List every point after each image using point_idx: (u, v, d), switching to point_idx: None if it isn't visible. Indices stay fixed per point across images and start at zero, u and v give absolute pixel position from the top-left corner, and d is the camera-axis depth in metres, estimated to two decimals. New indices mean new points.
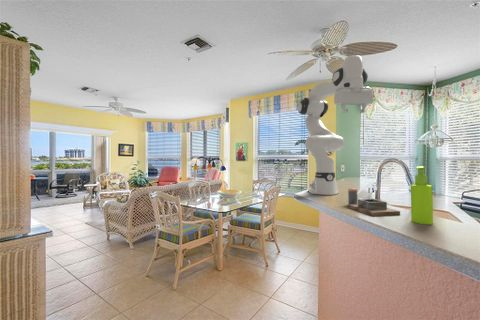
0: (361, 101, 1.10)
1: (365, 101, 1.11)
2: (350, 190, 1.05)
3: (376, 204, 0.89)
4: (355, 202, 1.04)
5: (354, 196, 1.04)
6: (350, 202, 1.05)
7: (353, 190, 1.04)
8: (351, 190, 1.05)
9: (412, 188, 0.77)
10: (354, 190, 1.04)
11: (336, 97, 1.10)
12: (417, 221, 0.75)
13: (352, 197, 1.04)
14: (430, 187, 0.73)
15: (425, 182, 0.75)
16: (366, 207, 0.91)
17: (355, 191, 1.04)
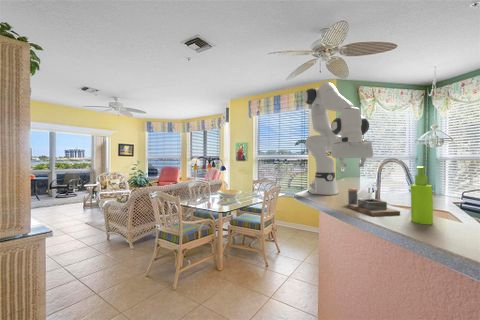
0: (360, 155, 1.05)
1: (364, 155, 1.05)
2: (350, 190, 1.05)
3: (376, 204, 0.89)
4: (355, 202, 1.04)
5: (354, 196, 1.04)
6: (350, 202, 1.05)
7: (353, 190, 1.04)
8: (351, 190, 1.05)
9: (412, 188, 0.77)
10: (354, 190, 1.04)
11: (334, 151, 1.04)
12: (417, 221, 0.75)
13: (352, 197, 1.04)
14: (430, 187, 0.73)
15: (425, 182, 0.75)
16: (366, 207, 0.91)
17: (355, 191, 1.04)
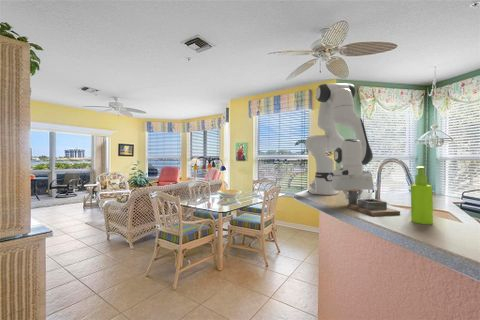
0: (360, 188, 1.05)
1: (365, 187, 1.05)
2: (350, 190, 1.05)
3: (376, 204, 0.89)
4: (355, 202, 1.04)
5: (354, 196, 1.04)
6: (350, 202, 1.05)
7: (353, 190, 1.04)
8: (351, 190, 1.05)
9: (412, 188, 0.77)
10: (354, 190, 1.04)
11: (334, 184, 1.04)
12: (417, 221, 0.75)
13: (352, 197, 1.04)
14: (430, 187, 0.73)
15: (425, 182, 0.75)
16: (366, 207, 0.91)
17: (355, 191, 1.04)
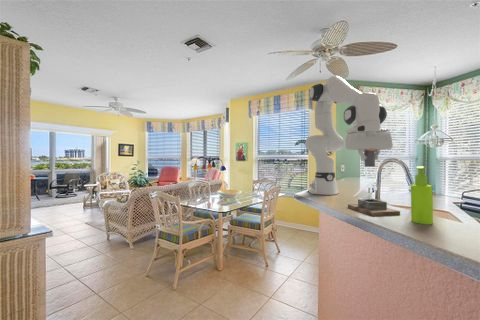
0: (378, 147, 0.93)
1: (383, 147, 0.93)
2: (366, 149, 0.93)
3: (376, 204, 0.89)
4: (372, 162, 0.92)
5: (371, 156, 0.92)
6: (367, 163, 0.93)
7: (370, 149, 0.92)
8: (368, 149, 0.93)
9: (412, 188, 0.77)
10: (371, 149, 0.92)
11: (348, 142, 0.93)
12: (417, 221, 0.75)
13: (369, 157, 0.92)
14: (430, 187, 0.73)
15: (425, 182, 0.75)
16: (366, 207, 0.91)
17: (372, 150, 0.92)
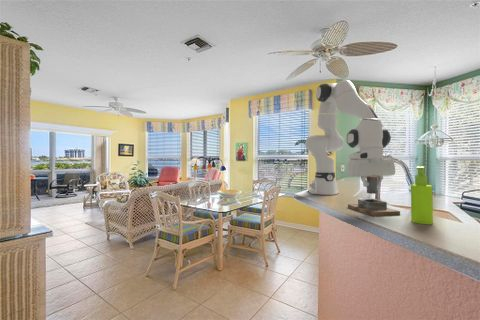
0: (381, 173, 0.92)
1: (385, 173, 0.92)
2: (369, 176, 0.92)
3: (376, 204, 0.89)
4: (375, 189, 0.91)
5: (374, 183, 0.91)
6: (369, 190, 0.92)
7: (372, 176, 0.91)
8: (370, 176, 0.92)
9: (412, 188, 0.77)
10: (374, 176, 0.91)
11: (351, 169, 0.92)
12: (417, 221, 0.75)
13: (372, 184, 0.91)
14: (430, 187, 0.73)
15: (425, 182, 0.75)
16: (366, 207, 0.91)
17: (375, 177, 0.91)
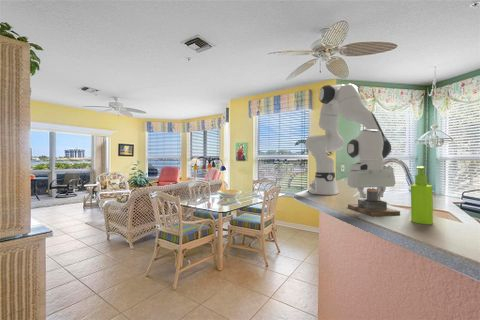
0: (381, 185, 0.92)
1: (385, 184, 0.92)
2: (369, 190, 0.92)
3: (376, 204, 0.89)
4: None
5: (374, 198, 0.91)
6: None
7: (373, 190, 0.91)
8: (370, 190, 0.92)
9: (412, 188, 0.77)
10: (374, 190, 0.91)
11: (351, 180, 0.92)
12: (417, 221, 0.75)
13: (372, 199, 0.91)
14: (430, 187, 0.73)
15: (425, 182, 0.75)
16: (366, 207, 0.91)
17: (375, 192, 0.91)
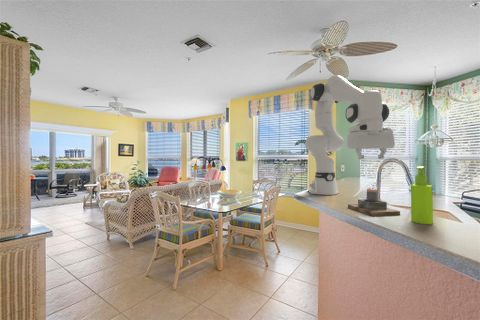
0: (380, 146, 0.92)
1: (385, 146, 0.92)
2: (369, 191, 0.92)
3: (376, 204, 0.89)
4: None
5: (374, 198, 0.91)
6: None
7: (372, 190, 0.91)
8: (370, 191, 0.92)
9: (412, 188, 0.77)
10: (374, 191, 0.91)
11: (350, 141, 0.92)
12: (417, 221, 0.75)
13: (372, 199, 0.91)
14: (430, 187, 0.73)
15: (425, 182, 0.75)
16: (366, 207, 0.91)
17: (375, 192, 0.91)
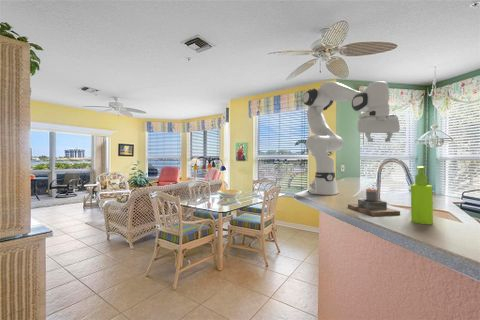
0: (387, 130, 1.04)
1: (391, 130, 1.04)
2: (368, 191, 0.92)
3: (376, 204, 0.89)
4: None
5: (373, 198, 0.91)
6: None
7: (372, 190, 0.91)
8: (370, 191, 0.92)
9: (412, 188, 0.77)
10: (373, 191, 0.91)
11: (360, 126, 1.04)
12: (417, 221, 0.75)
13: (371, 199, 0.91)
14: (430, 187, 0.73)
15: (425, 182, 0.75)
16: (366, 207, 0.91)
17: (374, 192, 0.91)
